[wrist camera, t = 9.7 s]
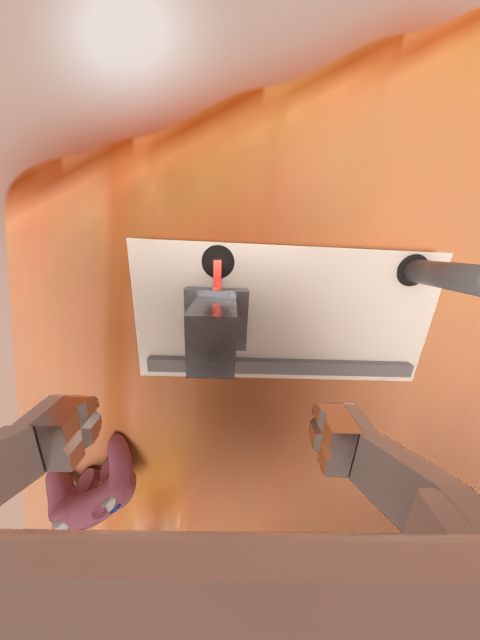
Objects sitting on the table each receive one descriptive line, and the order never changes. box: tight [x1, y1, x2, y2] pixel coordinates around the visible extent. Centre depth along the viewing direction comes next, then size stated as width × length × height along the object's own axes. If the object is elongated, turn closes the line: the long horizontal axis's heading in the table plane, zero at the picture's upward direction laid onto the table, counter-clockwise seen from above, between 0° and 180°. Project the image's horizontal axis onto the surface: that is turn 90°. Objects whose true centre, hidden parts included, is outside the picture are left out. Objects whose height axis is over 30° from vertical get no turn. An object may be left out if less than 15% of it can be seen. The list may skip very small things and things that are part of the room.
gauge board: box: [126, 238, 480, 381], centre depth 18 cm, size 26×12×8 cm, turn 87°
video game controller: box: [46, 433, 136, 530], centre depth 25 cm, size 10×5×7 cm, turn 118°
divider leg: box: [183, 260, 249, 379], centre depth 16 cm, size 5×7×6 cm
